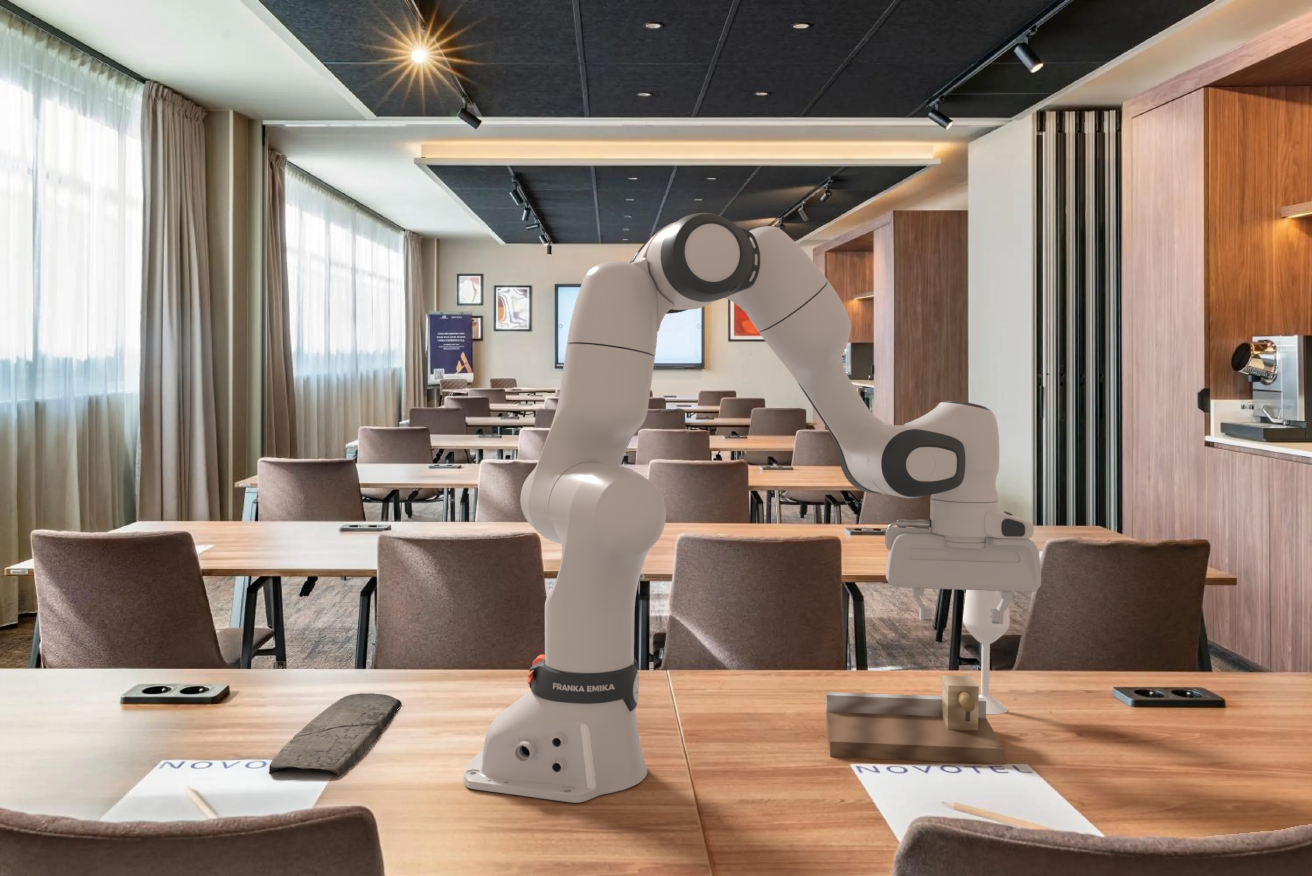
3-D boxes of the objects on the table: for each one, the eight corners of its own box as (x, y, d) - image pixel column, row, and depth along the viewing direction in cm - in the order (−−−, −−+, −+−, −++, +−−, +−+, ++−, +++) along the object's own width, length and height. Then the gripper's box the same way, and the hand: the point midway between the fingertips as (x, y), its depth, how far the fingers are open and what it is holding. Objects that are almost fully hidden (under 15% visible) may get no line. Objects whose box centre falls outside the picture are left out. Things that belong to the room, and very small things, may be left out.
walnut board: (830, 756, 135) (830, 723, 135) (826, 722, 149) (826, 691, 149) (1004, 764, 133) (1004, 730, 132) (983, 728, 147) (984, 697, 146)
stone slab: (408, 691, 158) (341, 755, 128) (408, 712, 158) (342, 781, 128) (341, 692, 158) (259, 755, 128) (341, 713, 158) (259, 781, 128)
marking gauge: (952, 739, 136) (953, 694, 136) (942, 717, 145) (942, 675, 145) (983, 740, 136) (984, 695, 135) (971, 718, 145) (972, 676, 144)
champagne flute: (1002, 701, 159) (1005, 546, 158) (1013, 715, 153) (1016, 553, 151) (957, 699, 160) (960, 545, 159) (966, 713, 153) (968, 552, 152)
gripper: (887, 521, 139) (885, 623, 140) (1046, 526, 136) (1042, 630, 137) (883, 515, 145) (881, 613, 146) (1034, 520, 143) (1031, 619, 143)
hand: (960, 621), depth 141 cm, fingers open, 8 cm apart
